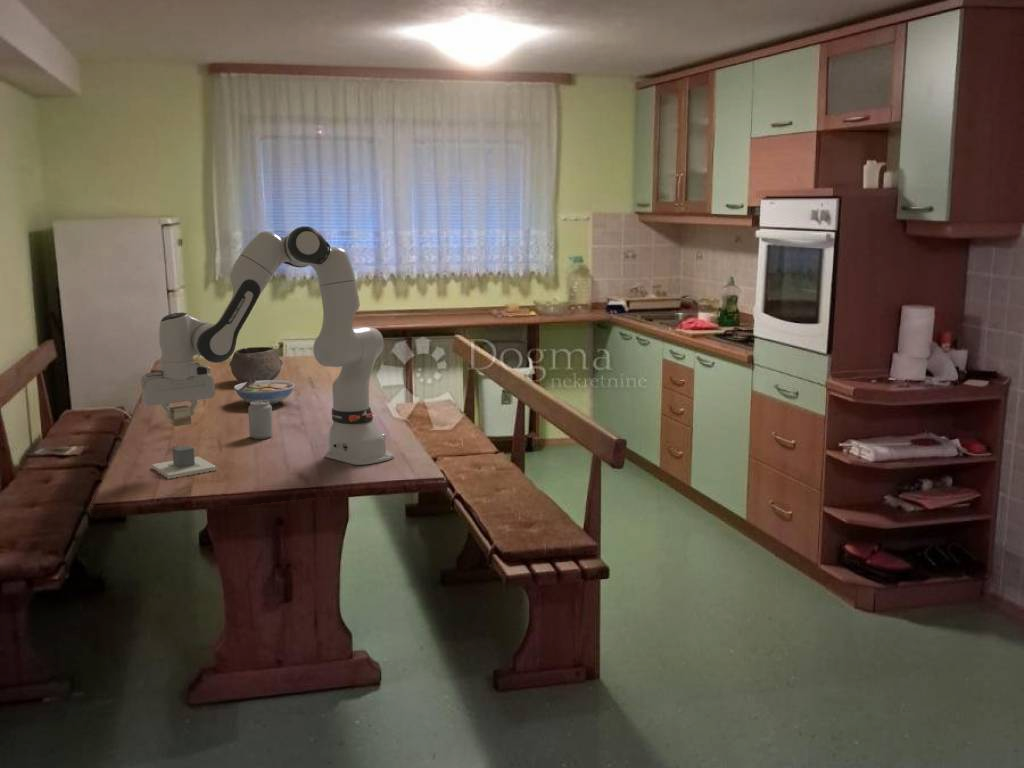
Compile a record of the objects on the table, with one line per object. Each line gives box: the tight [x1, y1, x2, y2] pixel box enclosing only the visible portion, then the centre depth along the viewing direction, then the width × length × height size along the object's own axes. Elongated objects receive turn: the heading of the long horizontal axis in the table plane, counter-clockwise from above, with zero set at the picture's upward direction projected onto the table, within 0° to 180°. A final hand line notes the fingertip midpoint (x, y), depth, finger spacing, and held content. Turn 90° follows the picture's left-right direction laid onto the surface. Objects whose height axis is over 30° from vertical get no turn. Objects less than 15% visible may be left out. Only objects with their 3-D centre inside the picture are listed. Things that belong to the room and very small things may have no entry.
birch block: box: [168, 404, 192, 427], centre depth 276 cm, size 5×5×5 cm
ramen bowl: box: [233, 377, 295, 406], centre depth 366 cm, size 25×23×8 cm
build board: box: [151, 455, 218, 480], centre depth 279 cm, size 14×14×1 cm
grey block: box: [171, 444, 195, 468], centre depth 278 cm, size 5×5×5 cm
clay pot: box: [229, 346, 284, 383], centre depth 406 cm, size 21×21×15 cm
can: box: [247, 400, 274, 440], centre depth 315 cm, size 8×8×12 cm
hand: (180, 416), depth 276 cm, fingers closed on birch block, 5 cm apart
